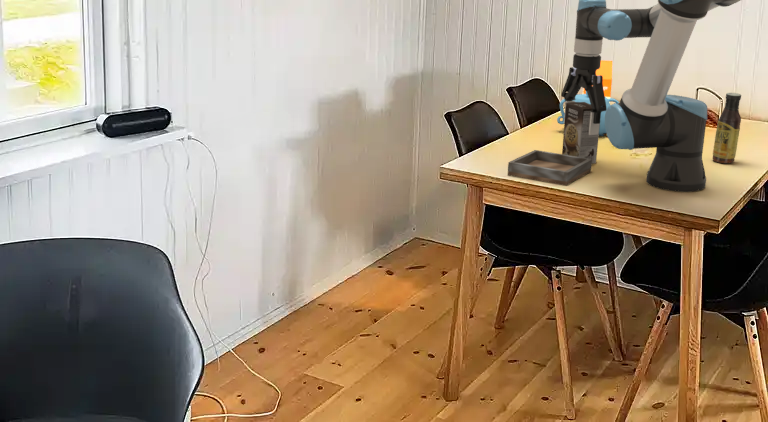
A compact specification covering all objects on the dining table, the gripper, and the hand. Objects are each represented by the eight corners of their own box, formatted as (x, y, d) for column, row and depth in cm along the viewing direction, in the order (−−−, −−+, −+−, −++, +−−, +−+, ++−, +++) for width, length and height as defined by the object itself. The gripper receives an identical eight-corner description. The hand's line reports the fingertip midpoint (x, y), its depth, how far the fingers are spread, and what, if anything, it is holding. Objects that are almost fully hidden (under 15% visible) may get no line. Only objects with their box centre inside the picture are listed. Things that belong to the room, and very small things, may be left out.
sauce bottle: (707, 159, 289) (715, 92, 283) (724, 158, 291) (733, 90, 285) (722, 165, 283) (731, 96, 277) (740, 163, 286) (749, 95, 280)
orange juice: (580, 116, 343) (585, 57, 337) (606, 117, 342) (612, 59, 336) (581, 120, 336) (586, 61, 330) (608, 122, 335) (613, 62, 328)
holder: (591, 171, 274) (592, 159, 273) (566, 185, 260) (567, 172, 259) (534, 161, 283) (535, 149, 282) (507, 174, 269) (508, 162, 268)
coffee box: (560, 157, 288) (564, 102, 284) (579, 155, 291) (584, 101, 286) (577, 165, 280) (582, 108, 275) (597, 163, 283) (602, 107, 278)
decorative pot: (584, 125, 330) (587, 84, 326) (623, 134, 318) (627, 91, 314) (551, 131, 320) (554, 89, 316) (590, 141, 309) (594, 97, 304)
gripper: (624, 61, 267) (616, 138, 273) (576, 46, 289) (569, 118, 295) (599, 62, 264) (592, 140, 271) (553, 47, 286) (547, 119, 293)
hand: (580, 128), depth 283 cm, fingers open, 13 cm apart
